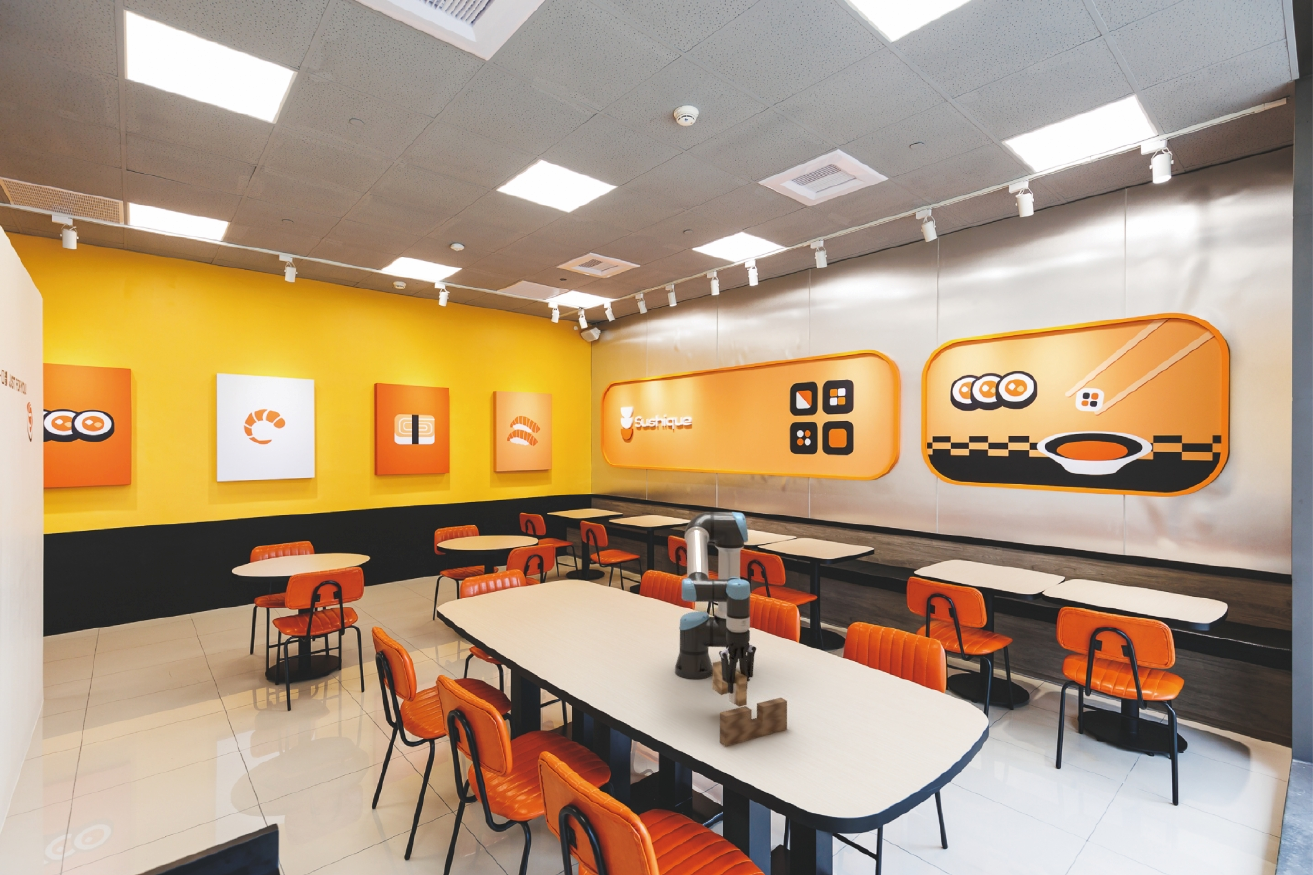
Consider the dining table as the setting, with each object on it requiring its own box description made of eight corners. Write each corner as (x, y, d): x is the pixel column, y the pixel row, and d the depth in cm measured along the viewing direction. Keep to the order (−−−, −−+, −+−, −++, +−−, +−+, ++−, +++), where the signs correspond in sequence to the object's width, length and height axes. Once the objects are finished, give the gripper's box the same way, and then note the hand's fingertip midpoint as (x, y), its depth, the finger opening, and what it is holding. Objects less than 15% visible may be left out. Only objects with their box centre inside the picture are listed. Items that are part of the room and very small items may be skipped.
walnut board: (725, 746, 182) (725, 716, 182) (719, 741, 185) (719, 712, 185) (786, 729, 194) (787, 700, 194) (780, 725, 196) (780, 697, 196)
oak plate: (746, 704, 193) (746, 676, 193) (739, 706, 192) (739, 678, 192) (719, 687, 207) (720, 660, 206) (712, 688, 205) (712, 662, 205)
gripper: (724, 636, 188) (723, 711, 188) (765, 628, 195) (764, 700, 196) (710, 629, 194) (710, 701, 195) (750, 621, 202) (750, 691, 202)
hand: (737, 701), depth 195 cm, fingers closed on oak plate, 3 cm apart
